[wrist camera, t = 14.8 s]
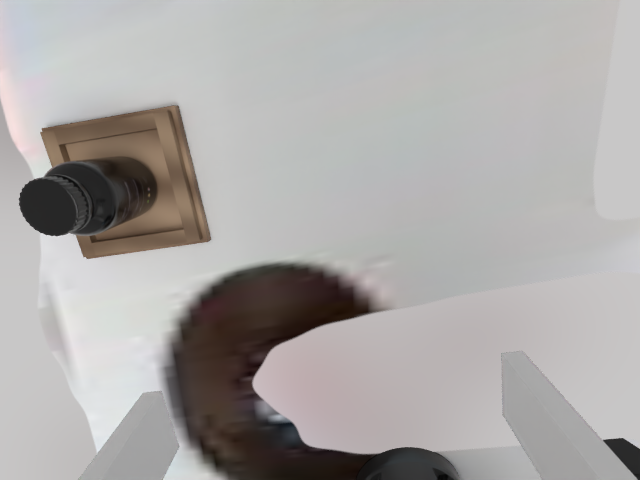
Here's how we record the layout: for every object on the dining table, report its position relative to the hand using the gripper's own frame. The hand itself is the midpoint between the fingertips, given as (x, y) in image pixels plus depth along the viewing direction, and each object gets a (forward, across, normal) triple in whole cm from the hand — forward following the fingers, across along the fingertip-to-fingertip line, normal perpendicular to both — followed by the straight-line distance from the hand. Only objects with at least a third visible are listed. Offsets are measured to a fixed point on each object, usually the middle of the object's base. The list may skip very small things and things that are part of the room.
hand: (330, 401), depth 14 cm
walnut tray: (+29, +22, -8) cm, 37 cm away
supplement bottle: (+28, +22, -8) cm, 36 cm away
